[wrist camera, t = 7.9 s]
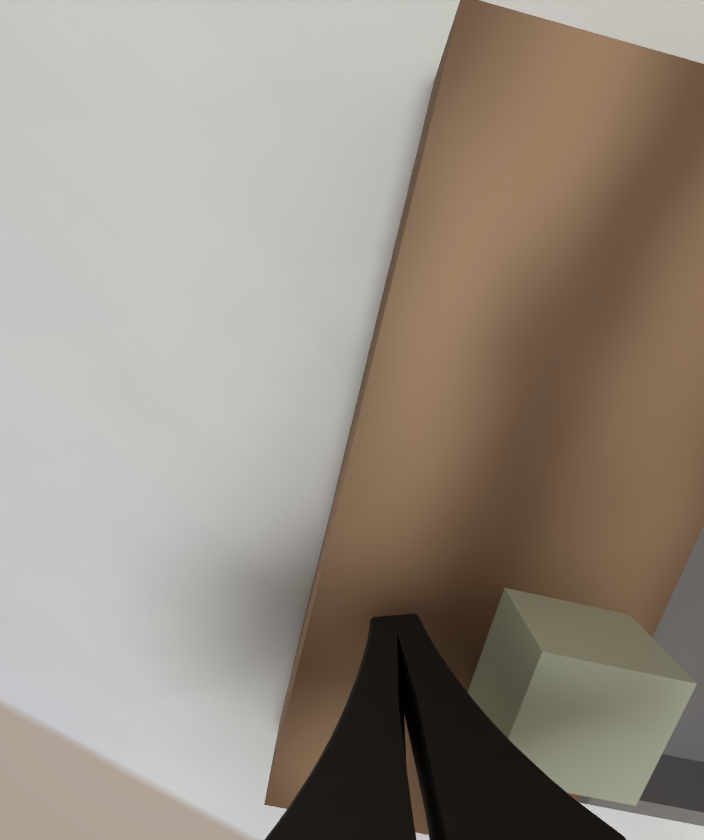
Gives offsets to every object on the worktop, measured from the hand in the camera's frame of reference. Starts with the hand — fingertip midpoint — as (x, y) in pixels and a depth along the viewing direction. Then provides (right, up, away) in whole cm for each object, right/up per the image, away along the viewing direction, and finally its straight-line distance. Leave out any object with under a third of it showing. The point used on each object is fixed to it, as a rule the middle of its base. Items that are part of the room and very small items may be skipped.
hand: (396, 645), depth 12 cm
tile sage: (+5, -1, +1) cm, 5 cm away
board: (+3, +4, +3) cm, 6 cm away
